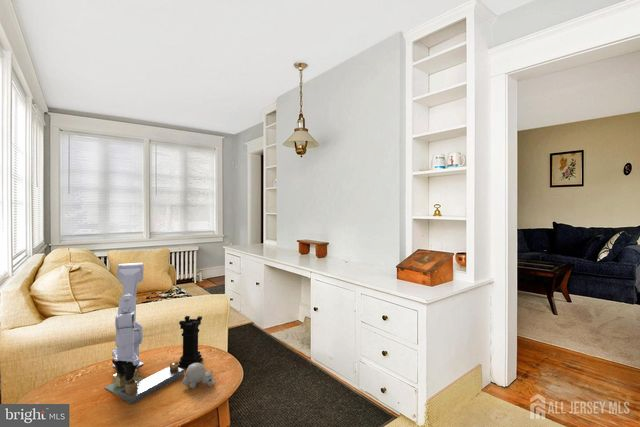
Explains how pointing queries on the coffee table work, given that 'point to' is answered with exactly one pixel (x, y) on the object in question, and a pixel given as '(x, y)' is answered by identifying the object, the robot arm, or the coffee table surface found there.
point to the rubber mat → (117, 389)
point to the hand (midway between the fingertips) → (125, 377)
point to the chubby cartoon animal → (197, 375)
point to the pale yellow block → (123, 378)
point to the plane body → (150, 383)
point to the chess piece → (190, 342)
